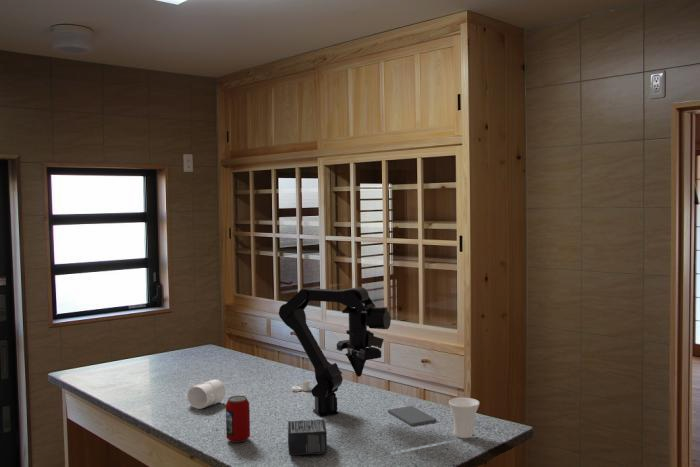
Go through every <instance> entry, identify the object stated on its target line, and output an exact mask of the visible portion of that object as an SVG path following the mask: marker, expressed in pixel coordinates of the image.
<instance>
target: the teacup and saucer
mask: <svg viewBox="0 0 700 467" xmlns="http://www.w3.org/2000/svg"><path fill="white" fill-rule="evenodd" d="M311 383H312V385H311ZM314 385H315V384H314V381H311V379H302V380H301V387H300V386H295V385H294V386H292V387H291V390H292V392H295V393H297V394H304V395H306V394H312V392H310V391H311V390H312V389H313V388H314ZM302 391H303V392H302ZM308 391H309V392H308Z"/></svg>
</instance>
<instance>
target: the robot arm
mask: <svg viewBox="0 0 700 467" xmlns="http://www.w3.org/2000/svg"><path fill="white" fill-rule="evenodd" d="M310 301H311V302H313V301H314V302H325V303H327V302H329V303H339V304H340V305H343V306H346V307H345V308H344V309H343V310H341V312H342V313H341V314H348V329H346V330H345V331H346V335H348V339H346V340H345V339H343V340H338V341H337V343H336V350H337V351H339V352H342V351H343V350H345V349H346V350H347V353H345V356H346V357H347V359H348V361H349V364H350V365H351V367H352V369H353V371H354V374H355V375H356V377H358V378H359V377H362V374H363V370H364V367H365V364H366V361H369V360H376V359H380V358H382V350H380V349H382V347H383V344H384V338H381V337H378V336H375V334H374V332H372V331H370V330H369V329H372V330H373V329H375V330H388V329H389V328H390V326H391V322H392V321H391V320H392V317H391V315H390V312H389V311H388V309H389V308H388V306H382V307H378V306H376V305H375V303H374V302H373V300H372V299H371V298H370V296H369V292H368V290H367V289H366V287H364V286H363V287H362V286H359V287H352V288H346V289H345V288H344V289H333V288H332V289H328V288H312V287H305V288H301V289H300V290H299V291H298V292H297V293H296V294H295V295H294V296H293V297H292V298H291V299H289V300H288V301H287V302H286V303H284V304H282V305H281V306H280V307H279V310H278V315H279V318H280V319H281V321H282V322H283V323H284V324H285V326H287V327H288V328H290V329H291V330H292V331H293V332H294V335H295V336H296V337H297V339H298V341H299V343H300V345H301V347H302V348H303V350H304V352H305V354H306V355H307V357H308V359H309V361H310V364H312V367H313V368H314V376H315V377H314V378H315V380H316V385H315V386H313V387H312V388H311V389H310V391H311V392H312V393H311V395H312V397H314V408H313V409H312V411H313V412H314V413H315V414H316V415H318V416H319V417H325V416H331V415H336V414H339V411H338V398H337V395H336V392H338V389H339V387H341V385H342V383H343V380H344V379H343V376H342V374H343V372H342V371H341V370H340V369H339V366H338V364H337V363H336V362H334V363H330V362H329V361H328V359H327V357H326V356H325V354H324V353H323V351H322V349H321V347H320V345H319V343H318V342H317V339H316V338H315V337H314V335H313V333H312V331H311V329H310V327H309V326H308V323H307V316H306V315H307V314H306V311H305V309H306V308H307V307H308V306H309V303H310ZM368 328H369V329H368Z"/></svg>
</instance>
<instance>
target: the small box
mask: <svg viewBox="0 0 700 467" xmlns="http://www.w3.org/2000/svg"><path fill="white" fill-rule="evenodd" d="M327 435H328V434H327V428H326V422H325V419H312V420H311V419H309V420H289V421H288V422H287V444H288V445H287V446H288V447H287V448H288V455H289V456H291V455H293V456H295V455H296V456H297V455H314V454H315V455H317V454H327V453H328V451H327V450H328V448H327V447H328V446H327V444H328V443H327V442H328V440H327V439H328V438H327Z"/></svg>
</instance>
